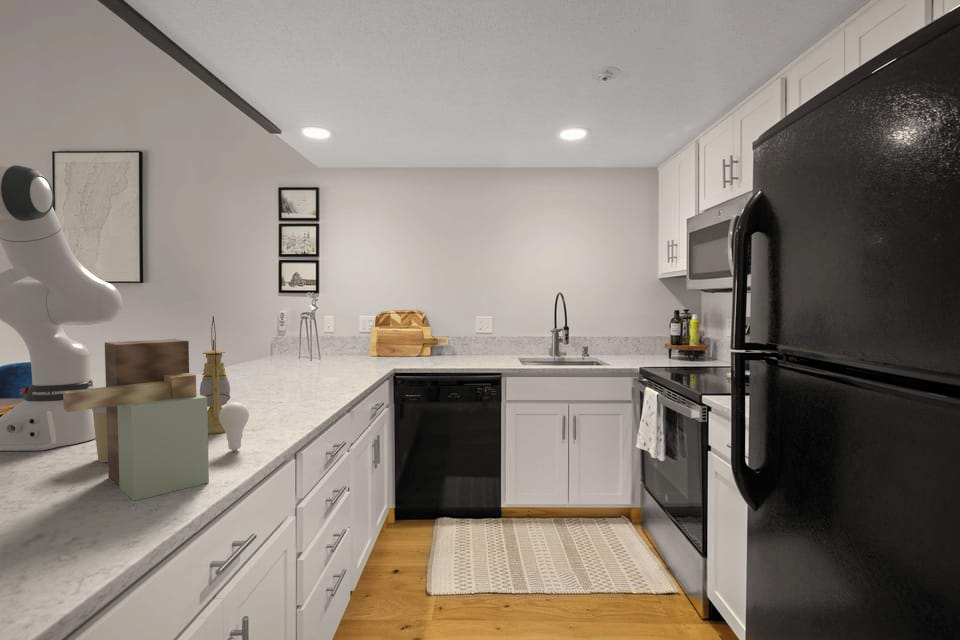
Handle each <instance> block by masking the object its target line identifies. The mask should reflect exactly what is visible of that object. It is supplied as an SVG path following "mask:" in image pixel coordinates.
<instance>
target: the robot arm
mask: <svg viewBox="0 0 960 640" xmlns="http://www.w3.org/2000/svg"><path fill="white" fill-rule="evenodd" d="M54 199H55V197H54V190H53V187H52V185H51V183H50V182H49V180H48V178H46V177H45V176H44V175H43V174H42V173H41V172H40V171H39V170H36V169H33V168H31V167H27V166H22V165H19V164H17V165H16V164H15V165H8V164H2V163H0V243H1V245H2V248H3V250H4V252H5V254H6V256H7V259H8V262H9V264H10V265H11V267H13V268H9V269H7V270H4V271H2V272H0V321H2V322H3V323H5V324H7V325H8V326H10V327H11V328H12V329H13V330H15V331H16V332H17V333H18V335H19V337H21V338H22V341H23V342H24V343H25V345H26V347H27V351H28V354H29V358H30V365H31V366H30V368H31V379H32V380H31V381H32V383H31V384H29V385H28V386H25V388H21V389H19V390H18V391H19V393H18V394H19V395H23V394H24V397H23V401H21V402H20V403H19V404H17V405H16V406H14V407H12V409H10V410H8V411H7V412H6V413H5V414H3V415H2V416H0V452H2V451H4V452H5V451H6V452H7V451H8V452H9V451H10V452H11V451H15V452H17V451H22V452H23V451H45V450H50V449H51V450H52V449H54V448H59V447H64V446H65V447H66V446H71V445H75V444H79V443H84V442H88V441H90V440H94V439H96V437H95V428H94V418H93V412H92V409H88V410H80V411H72V412H67V411H65V410H64V402H63V391H72V390H82V389H92V388H94V385H93V383H94V382H93V380H92V379H91V359H90V358H91V357H90V356H91V353H90V350H88V348H87V347H86V345H84V344H82V343H81V342H79V341H77V340H74V339H71V338H70V337H69V336H68V335H67V334H66V333H65V330H64V326H92V325H97V324H98V325H99V324H104V323H108V322H113V321H114V320H115V319H116V318H117V317H119V314H120V313H121V310H122V307H123V298H122V295H121V293H120V291H119V290H118V288H117V287H116V286H114V284H112V283H110V282H107V281H105V280H104V279H101V278H99V277H98V276H96V275H95V274H93V273H92V272H90V271H89V270H88V269H87V268H86V267H85V266H84V265H82V263H80V262H79V259H77V258H76V256H75V255H74V253H73V251H72V250H71V247H70V245H69V243H68V240H67V239H66V238H67V237H66V235H65V233H64V231H63V227H62V225H61V222H60V220H59V217H58V216H57V213H56V211H55V208H54V207H53V205H54ZM26 277H29V278H32V279H26ZM20 391H21V392H20Z"/></svg>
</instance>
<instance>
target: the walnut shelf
mask: <svg viewBox="0 0 960 640" xmlns="http://www.w3.org/2000/svg"><path fill="white" fill-rule="evenodd" d="M189 343H190V342H189V340H184V339H176V338H168V339H167V338H166V339H147V340H145V339H144V340H130V341H129V340H128V341H109V342H108V341H106V342H104V365H105V368H104V369H105V370H104V371H105V372H104V373H105V387H111V386H121V385H131V384H141V383H150V382H160V381H164V375H172V374H182V373H189V374H190V347H189V345H190V344H189ZM106 409H107V444H108V463H107V472H108V473H107V474H108V475H107V477H109V478H110V479H111V480H112V481H113V482H114V483H113V482H112V481H111V480H110V479H109V478H108V479H109V480H110V481H111V482H112V483H113V484H115V485H116V486H117V487H118V486H119V487H118V488H119V489H120V483H119V446H118V410H117V406H112V407H106Z"/></svg>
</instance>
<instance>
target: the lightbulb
mask: <svg viewBox="0 0 960 640" xmlns="http://www.w3.org/2000/svg"><path fill="white" fill-rule="evenodd" d="M249 417H250V413H249V409H248V408H247V407H246V406H245V404H243V403H240V402H237V401H236V402H235V401H233V402H229V403H226V404H225V405H223V407H222V409H221V411H220V413H219V421H220V423H221V425H222V426H223V428H224V430H225V432H224V433H225V435H226V441H227V443H228V444H227V446H228V450H231V451H232V452H237V451H238V450H239V449H241V446H242V439H243V433H244V429H245V427H246V425H247V423H248V421H249Z"/></svg>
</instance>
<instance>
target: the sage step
mask: <svg viewBox="0 0 960 640" xmlns="http://www.w3.org/2000/svg"><path fill="white" fill-rule="evenodd" d="M117 410H118V446H119V483H120V488H121V489H122V490H123V491H124V492H125V493H124V492H123V491H122V490H121V489H120V488H119V489H120V490H121V491H122V492H123V493H124V494H126V495H127V497H129V498H130V499H131V500H132V501H133V500H136V501H139V499H140V500H143V499H147V498H151V497H157V496H160V495H165V494H169V493H172V491H173V492H176V490H177V491H181V490H184V489H188V488H192V487H197V486H200V485H201V484H202V485H205V484H204V483H206V484H209V483H210V471H209V470H210V469H209V434H208V414H207V411H208V407H207V397H205V396H202V395H200V393H199V394H198V393H196V397H189V398H181V399H173V400H172V399H168V400H160V401H152V402H144V403H136V404H128V405H120V406H117ZM208 482H209V483H208ZM202 485H201V486H202Z"/></svg>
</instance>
